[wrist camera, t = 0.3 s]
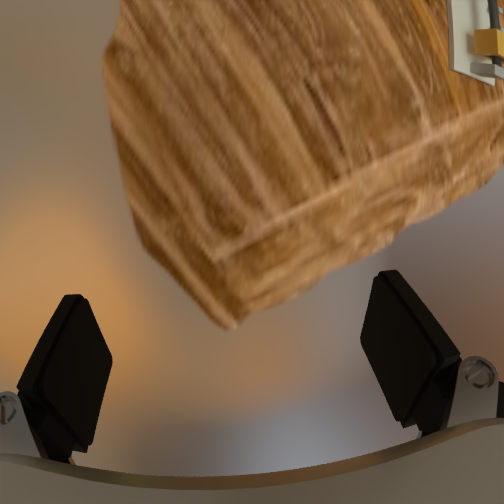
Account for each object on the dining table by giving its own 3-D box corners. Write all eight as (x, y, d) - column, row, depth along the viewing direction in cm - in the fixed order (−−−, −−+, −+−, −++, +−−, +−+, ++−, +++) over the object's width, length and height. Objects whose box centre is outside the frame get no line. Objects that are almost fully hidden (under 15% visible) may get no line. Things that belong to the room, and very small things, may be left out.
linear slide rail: (440, -39, 23) (471, -50, 16) (483, -16, 24) (513, -21, 17) (449, 69, 33) (484, 71, 26) (489, 85, 33) (523, 91, 26)
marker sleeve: (474, 29, 26) (512, 28, 19) (494, 40, 27) (531, 41, 19) (474, 53, 28) (514, 54, 21) (495, 62, 28) (533, 67, 21)
